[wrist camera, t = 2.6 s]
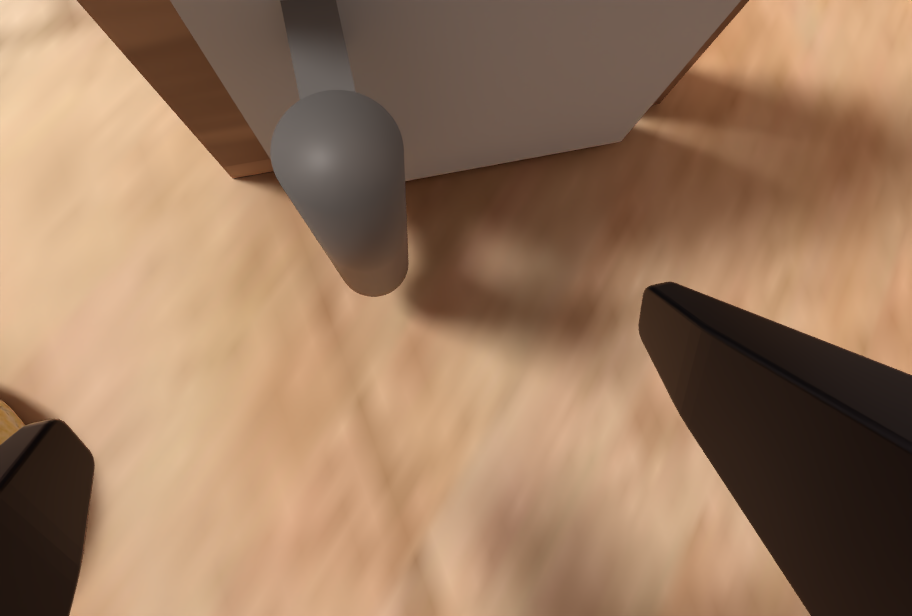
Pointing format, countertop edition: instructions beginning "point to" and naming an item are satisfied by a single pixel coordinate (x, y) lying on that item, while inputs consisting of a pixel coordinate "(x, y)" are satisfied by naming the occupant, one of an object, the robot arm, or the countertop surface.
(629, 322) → the countertop surface
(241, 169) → the door frame
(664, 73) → the door
